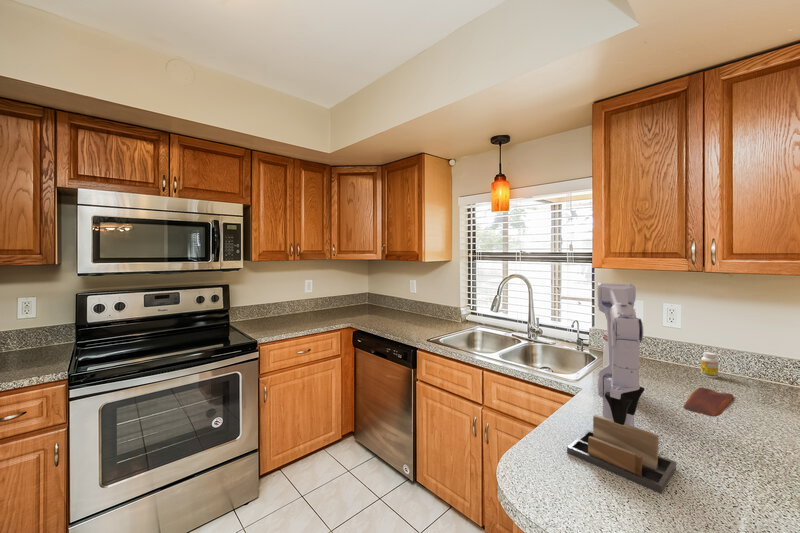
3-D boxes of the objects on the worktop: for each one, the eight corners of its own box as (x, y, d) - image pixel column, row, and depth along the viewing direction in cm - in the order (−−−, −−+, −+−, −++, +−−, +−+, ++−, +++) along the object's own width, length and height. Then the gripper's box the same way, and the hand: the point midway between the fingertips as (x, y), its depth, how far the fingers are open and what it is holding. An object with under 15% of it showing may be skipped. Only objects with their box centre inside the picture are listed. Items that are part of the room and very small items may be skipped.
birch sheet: (595, 443, 94) (595, 414, 94) (657, 467, 83) (658, 435, 83) (592, 445, 93) (593, 416, 93) (655, 470, 82) (656, 437, 82)
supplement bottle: (719, 379, 141) (720, 355, 141) (702, 376, 144) (703, 354, 143) (715, 374, 146) (716, 352, 145) (699, 372, 148) (699, 350, 148)
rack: (587, 437, 98) (587, 429, 98) (675, 471, 83) (676, 462, 83) (566, 455, 90) (567, 446, 89) (661, 496, 74) (661, 486, 74)
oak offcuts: (592, 453, 89) (593, 432, 89) (643, 474, 81) (643, 451, 80) (587, 458, 87) (587, 437, 87) (638, 480, 79) (639, 457, 78)
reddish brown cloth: (698, 389, 132) (698, 385, 132) (734, 398, 124) (734, 393, 124) (677, 409, 116) (678, 404, 116) (717, 420, 108) (718, 415, 108)
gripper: (617, 356, 95) (616, 404, 95) (597, 367, 85) (596, 421, 86) (648, 362, 89) (647, 413, 90) (630, 375, 80) (628, 433, 81)
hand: (624, 418), depth 88 cm, fingers open, 7 cm apart
